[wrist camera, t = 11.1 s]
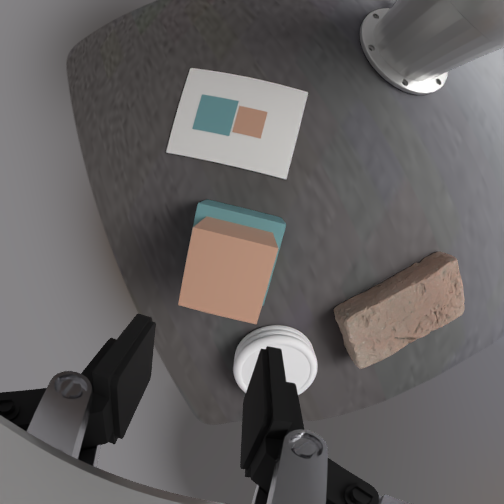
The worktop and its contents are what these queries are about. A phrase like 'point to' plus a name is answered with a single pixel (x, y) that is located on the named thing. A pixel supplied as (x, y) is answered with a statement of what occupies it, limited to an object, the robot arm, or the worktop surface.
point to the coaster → (293, 351)
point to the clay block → (228, 269)
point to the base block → (242, 220)
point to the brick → (401, 309)
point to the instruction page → (238, 121)
